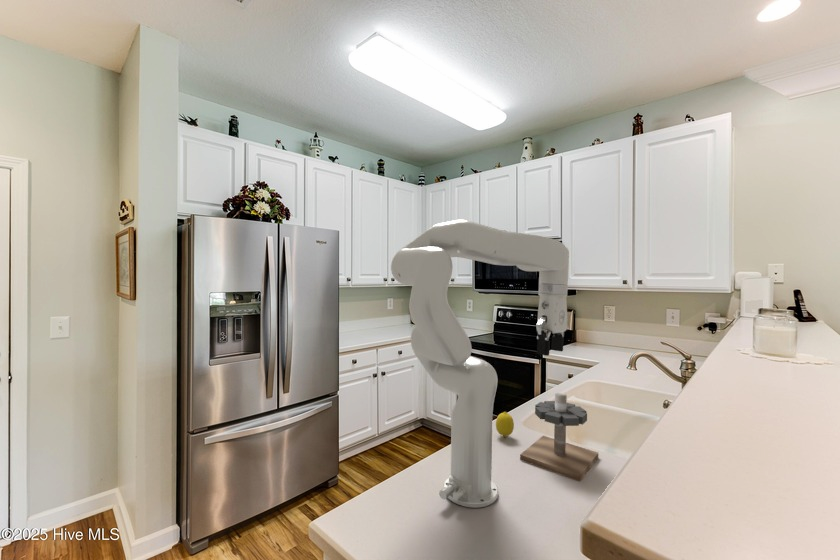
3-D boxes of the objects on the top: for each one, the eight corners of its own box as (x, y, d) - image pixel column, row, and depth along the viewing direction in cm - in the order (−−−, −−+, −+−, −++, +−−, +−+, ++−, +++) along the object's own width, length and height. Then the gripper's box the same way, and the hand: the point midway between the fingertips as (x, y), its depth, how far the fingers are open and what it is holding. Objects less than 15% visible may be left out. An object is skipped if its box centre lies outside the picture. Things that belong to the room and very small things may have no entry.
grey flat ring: (576, 430, 93) (577, 422, 93) (528, 416, 102) (528, 409, 102) (592, 415, 103) (592, 408, 103) (546, 404, 112) (546, 397, 112)
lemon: (502, 431, 120) (503, 407, 120) (517, 437, 116) (517, 412, 115) (491, 436, 116) (492, 411, 116) (506, 442, 112) (506, 416, 112)
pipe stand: (580, 481, 91) (581, 409, 91) (520, 459, 102) (521, 395, 102) (598, 457, 104) (599, 394, 103) (542, 440, 114) (544, 382, 114)
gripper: (554, 291, 93) (551, 359, 93) (577, 291, 106) (575, 351, 106) (526, 289, 98) (523, 354, 98) (551, 290, 111) (549, 347, 111)
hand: (550, 352), depth 102 cm, fingers open, 9 cm apart
